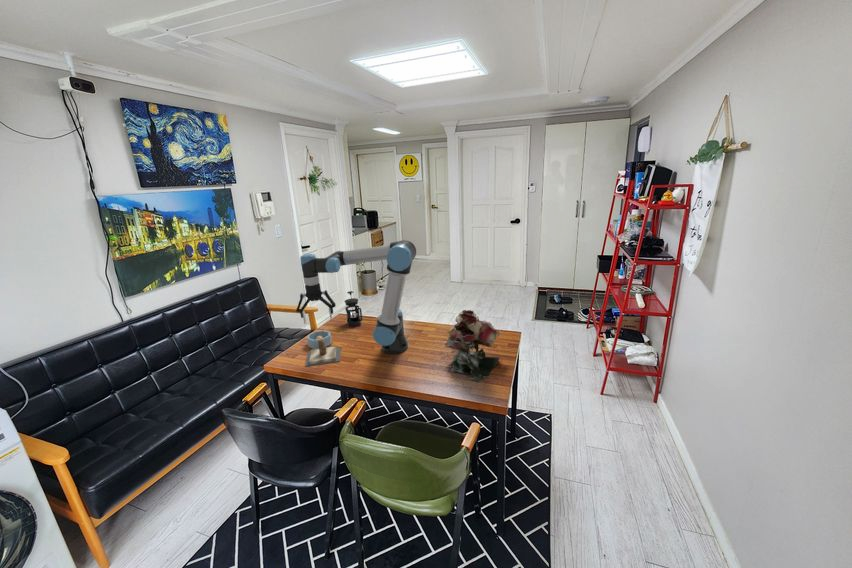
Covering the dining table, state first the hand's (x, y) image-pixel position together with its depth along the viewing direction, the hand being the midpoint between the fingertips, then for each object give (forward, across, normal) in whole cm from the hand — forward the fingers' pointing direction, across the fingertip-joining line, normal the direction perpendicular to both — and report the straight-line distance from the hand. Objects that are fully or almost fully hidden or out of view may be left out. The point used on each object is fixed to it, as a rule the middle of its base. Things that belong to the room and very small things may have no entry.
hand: (318, 321), depth 191 cm
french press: (+22, -18, -41) cm, 50 cm away
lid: (+21, 0, 0) cm, 21 cm away
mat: (+22, 0, 0) cm, 22 cm away
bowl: (+22, +3, -17) cm, 28 cm away
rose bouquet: (+23, -75, +30) cm, 84 cm away
